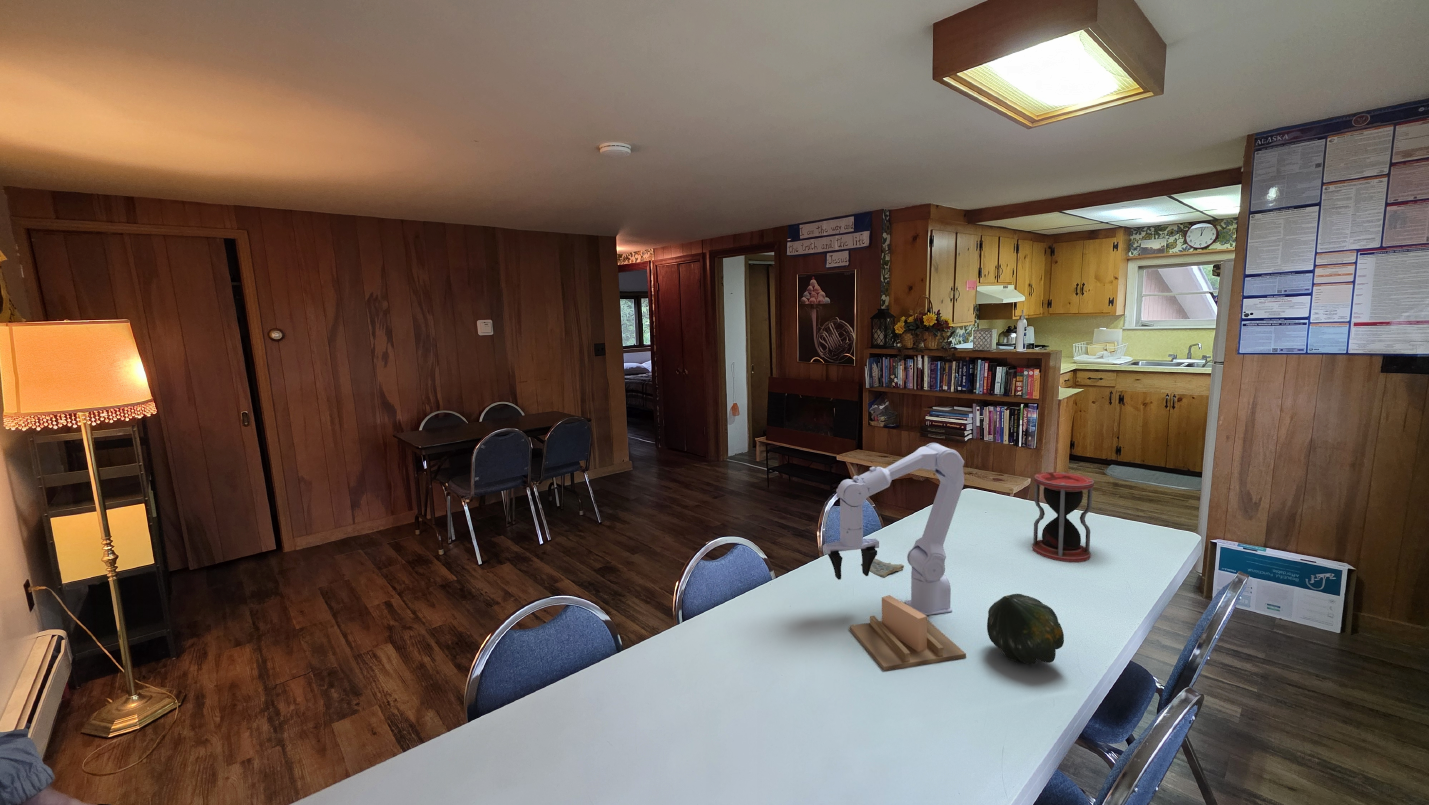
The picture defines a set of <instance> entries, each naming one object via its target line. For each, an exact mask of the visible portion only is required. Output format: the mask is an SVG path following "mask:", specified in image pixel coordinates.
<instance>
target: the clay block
mask: <svg viewBox="0 0 1429 805" xmlns="http://www.w3.org/2000/svg"><path fill="white" fill-rule="evenodd" d="M927 620H928V615H924V614H922V613H921V612H919V611H917V610H915V609H913V608H912V607H910V606H908V605H907V604H906V603H905V602H902V600H899V599H897V598H896V597H894V596H892V595H891V594H889V595H885V596H882V597H881V621H882V624H883V625H884V626H885V627H886V628H887V629H888V630H889V631H890V632H891V633H892V634H893V635H894V636H895V637H896V638H898V639H899V640H901V641H903V642H904V643H906V644H907V645H909V646H910V647H912V648H913V649H915V650H916V651H918V652H920V651H923V650H925V649H927Z"/></svg>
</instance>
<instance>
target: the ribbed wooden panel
mask: <svg viewBox="0 0 1429 805" xmlns="http://www.w3.org/2000/svg"><path fill="white" fill-rule="evenodd" d="M848 626H849V627H848V630H849V629H850V630H851V631H850V630H849V631H850V632H851V634H852V635H854V637H855V638H856V639H857V640H858V642H859V643H860V644H861V645H862V646H863V648H864V649H865V650H866V651H867V652H868V654H869V655H870V656H871V657H872V659H873V660H874V661H875V662H876V663H877V664H878V666H880V668H882V670H883V672H885V671H891V670H893V671H894V670H899V669H905V668H910V667H918V666H922V665H924V666H925V665H928V664H929V665H930V664H937V663H941V662H948V661H953V660H961V659H965V658H967V652H965V651H964V650H963V649H961V648H960V647H959V645H957V644H956V643H955V642H953V641H952V640H951V639H950V637H948V636H947V635H946V634H944V633H943V632H942V631H941V630H940V629H939V628H938V627H936V626H935V625H934V624H933V623H932V622H930V621H929V620H928V619H927V649H925V650H923V651H920V652H918V651H916V650H915V649H913V648H912V647H910V646H909V645H907V644H906V643H904V642H903V641H901V640H899V639H898V638H896V637H895V636H894V635H893V634H892V633H891V632H890V631H889V630H888V629H887V628H886V627H885V626H884V625H883V624H882V620H879V619H878V618H877V617H876V616H875V615H870V616H869V622H864V623H859V624H858V623H857V624H851V625H848Z"/></svg>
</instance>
